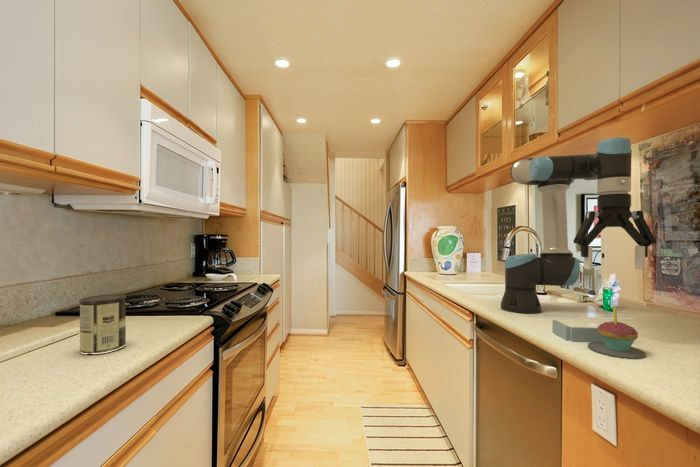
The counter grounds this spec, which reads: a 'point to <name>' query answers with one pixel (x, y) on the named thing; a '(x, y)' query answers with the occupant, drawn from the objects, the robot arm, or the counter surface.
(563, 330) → the pen walls
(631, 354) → the pad
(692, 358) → the counter surface
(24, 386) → the counter surface
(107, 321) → the coffee can
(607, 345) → the cupcake
